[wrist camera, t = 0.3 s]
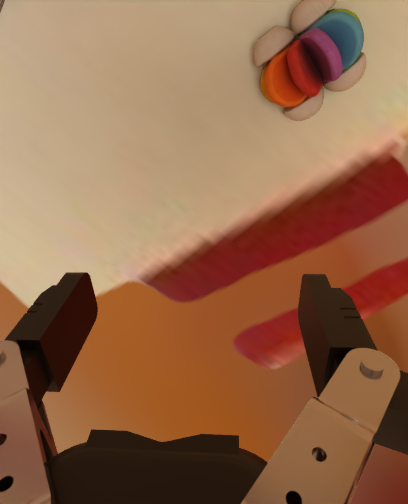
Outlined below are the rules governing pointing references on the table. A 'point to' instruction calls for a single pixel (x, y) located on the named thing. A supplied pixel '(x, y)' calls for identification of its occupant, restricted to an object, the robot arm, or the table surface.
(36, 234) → the table surface
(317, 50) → the multicoloured rounded cluster
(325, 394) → the robot arm
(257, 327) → the table surface
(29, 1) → the table surface
